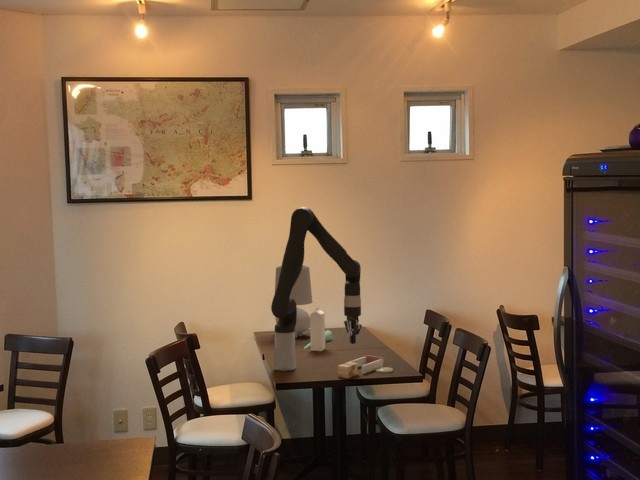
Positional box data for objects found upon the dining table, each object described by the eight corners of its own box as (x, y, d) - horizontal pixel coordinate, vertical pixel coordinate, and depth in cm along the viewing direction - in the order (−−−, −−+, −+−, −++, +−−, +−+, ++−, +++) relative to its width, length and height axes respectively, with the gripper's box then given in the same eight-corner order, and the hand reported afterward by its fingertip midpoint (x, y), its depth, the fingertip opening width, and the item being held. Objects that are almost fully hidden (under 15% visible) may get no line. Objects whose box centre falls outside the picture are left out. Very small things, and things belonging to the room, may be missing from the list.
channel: (363, 373, 310) (363, 364, 310) (345, 370, 316) (344, 362, 316) (384, 366, 324) (384, 357, 323) (366, 363, 330) (365, 354, 329)
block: (347, 378, 303) (347, 367, 303) (337, 376, 306) (337, 365, 306) (357, 374, 310) (357, 363, 309) (348, 373, 313) (348, 362, 312)
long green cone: (299, 339, 364) (324, 329, 387) (299, 349, 364) (324, 339, 387) (308, 339, 361) (332, 330, 385) (308, 350, 361) (332, 340, 385)
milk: (310, 350, 359) (309, 308, 358) (314, 348, 365) (313, 306, 363) (322, 351, 357) (320, 308, 356) (325, 348, 363) (324, 306, 361)
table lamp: (265, 337, 396) (263, 266, 393) (288, 330, 414) (287, 263, 411) (298, 341, 383) (296, 268, 380) (320, 334, 400) (319, 264, 398)
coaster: (387, 373, 310) (387, 372, 310) (371, 371, 314) (371, 369, 314) (396, 370, 316) (396, 368, 316) (381, 367, 321) (381, 366, 321)
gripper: (367, 306, 308) (367, 345, 309) (353, 302, 320) (353, 339, 321) (351, 307, 305) (352, 347, 306) (338, 303, 317) (338, 341, 318)
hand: (352, 343), depth 314 cm, fingers closed
